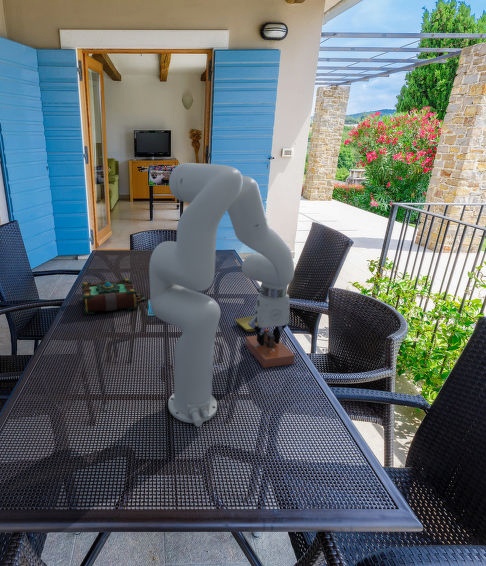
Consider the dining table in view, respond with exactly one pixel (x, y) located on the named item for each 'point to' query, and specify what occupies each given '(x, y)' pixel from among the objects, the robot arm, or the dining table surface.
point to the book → (109, 296)
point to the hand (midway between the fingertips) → (267, 342)
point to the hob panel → (270, 353)
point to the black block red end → (268, 338)
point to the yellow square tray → (246, 323)
